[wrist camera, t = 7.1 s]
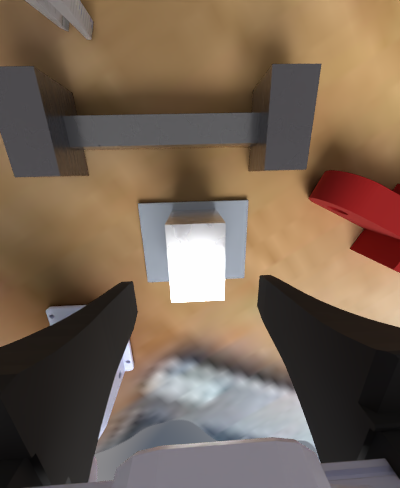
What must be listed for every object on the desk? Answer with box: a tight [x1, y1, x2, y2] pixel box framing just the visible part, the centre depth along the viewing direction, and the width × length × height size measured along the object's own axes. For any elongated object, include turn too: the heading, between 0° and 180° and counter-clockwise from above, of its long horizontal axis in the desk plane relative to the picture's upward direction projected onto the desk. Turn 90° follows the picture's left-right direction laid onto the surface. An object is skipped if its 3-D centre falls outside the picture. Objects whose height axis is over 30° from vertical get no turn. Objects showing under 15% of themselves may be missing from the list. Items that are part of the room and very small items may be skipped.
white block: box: [165, 209, 226, 302], centre depth 17 cm, size 6×4×6 cm, turn 1°
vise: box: [0, 64, 321, 177], centre depth 15 cm, size 6×20×4 cm, turn 91°
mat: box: [138, 200, 248, 282], centre depth 20 cm, size 8×10×1 cm
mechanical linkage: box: [309, 170, 400, 273], centre depth 18 cm, size 16×7×5 cm, turn 65°
